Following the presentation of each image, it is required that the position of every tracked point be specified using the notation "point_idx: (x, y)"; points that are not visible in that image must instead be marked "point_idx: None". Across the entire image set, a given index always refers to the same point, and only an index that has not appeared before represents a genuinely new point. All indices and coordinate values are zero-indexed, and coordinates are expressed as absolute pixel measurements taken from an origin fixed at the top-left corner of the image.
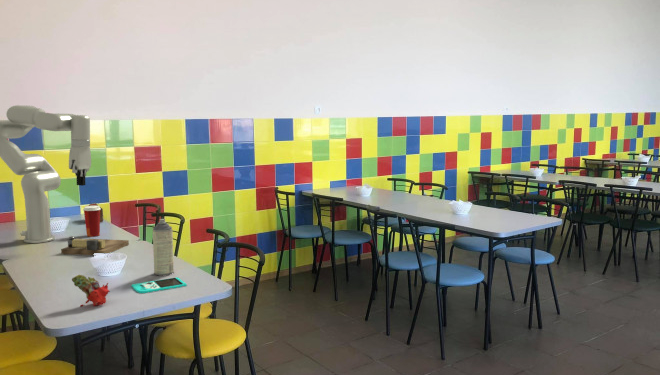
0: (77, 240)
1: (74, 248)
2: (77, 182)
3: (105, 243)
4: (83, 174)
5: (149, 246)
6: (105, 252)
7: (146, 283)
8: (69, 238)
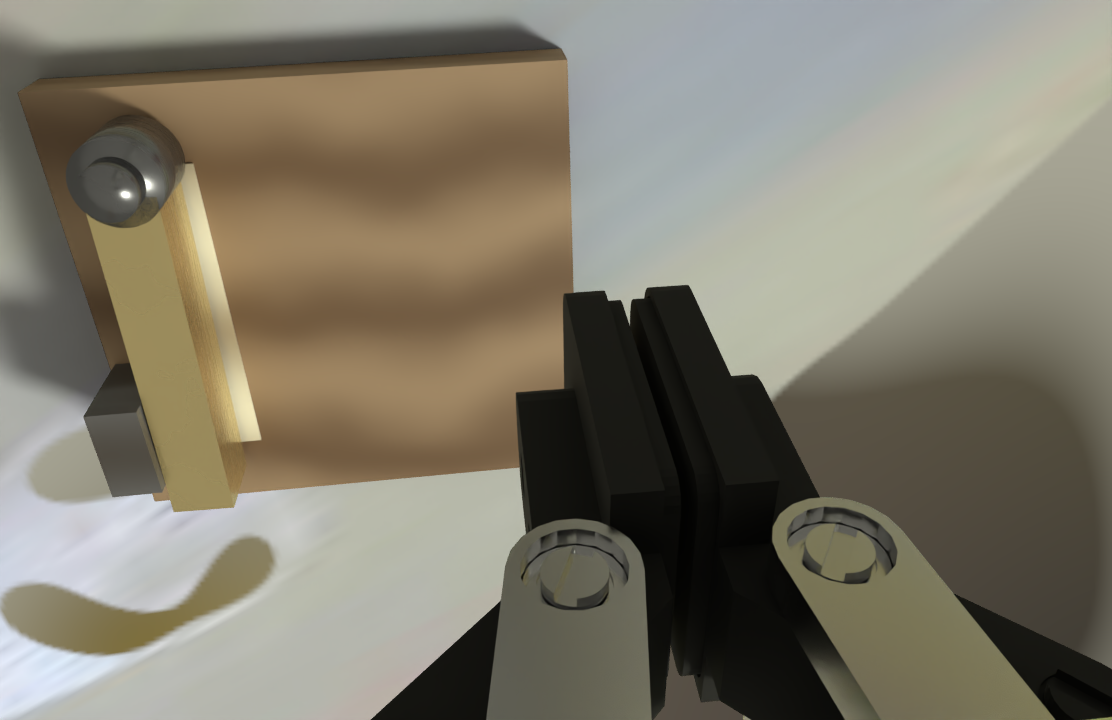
0: (105, 277)
1: None
2: (520, 403)
3: (407, 357)
4: (758, 716)
5: None
6: None
7: None
8: (81, 178)
